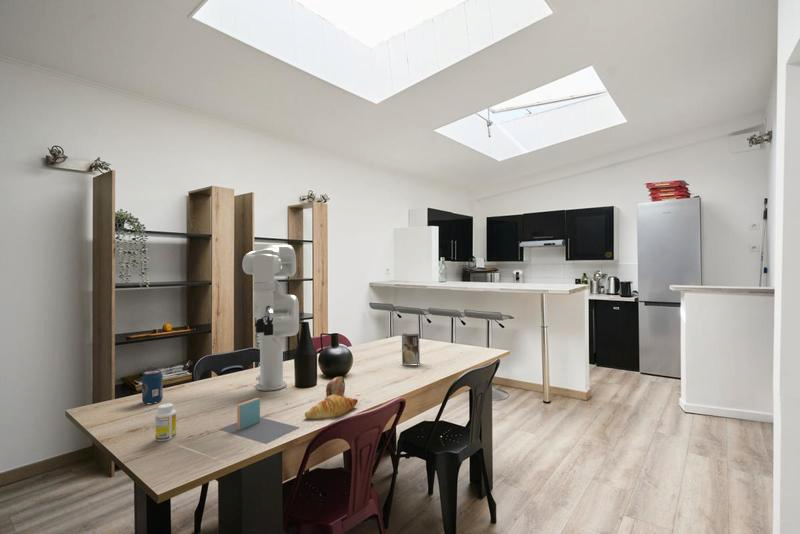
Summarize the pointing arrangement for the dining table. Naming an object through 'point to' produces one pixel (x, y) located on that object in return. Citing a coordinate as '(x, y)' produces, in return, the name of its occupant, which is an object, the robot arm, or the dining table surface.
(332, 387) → the tin
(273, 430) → the mat
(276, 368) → the robot arm
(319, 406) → the croissant
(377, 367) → the dining table surface
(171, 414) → the supplement bottle
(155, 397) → the soda can
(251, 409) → the tile
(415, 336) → the coffee box
